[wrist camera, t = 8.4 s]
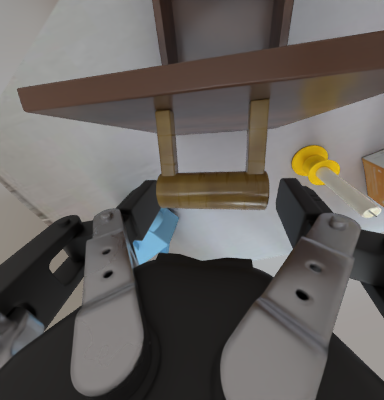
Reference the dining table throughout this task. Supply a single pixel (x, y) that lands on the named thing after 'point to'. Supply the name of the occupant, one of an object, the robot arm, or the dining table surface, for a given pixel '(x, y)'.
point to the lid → (221, 107)
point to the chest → (219, 27)
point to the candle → (331, 179)
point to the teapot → (156, 236)
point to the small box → (375, 176)
